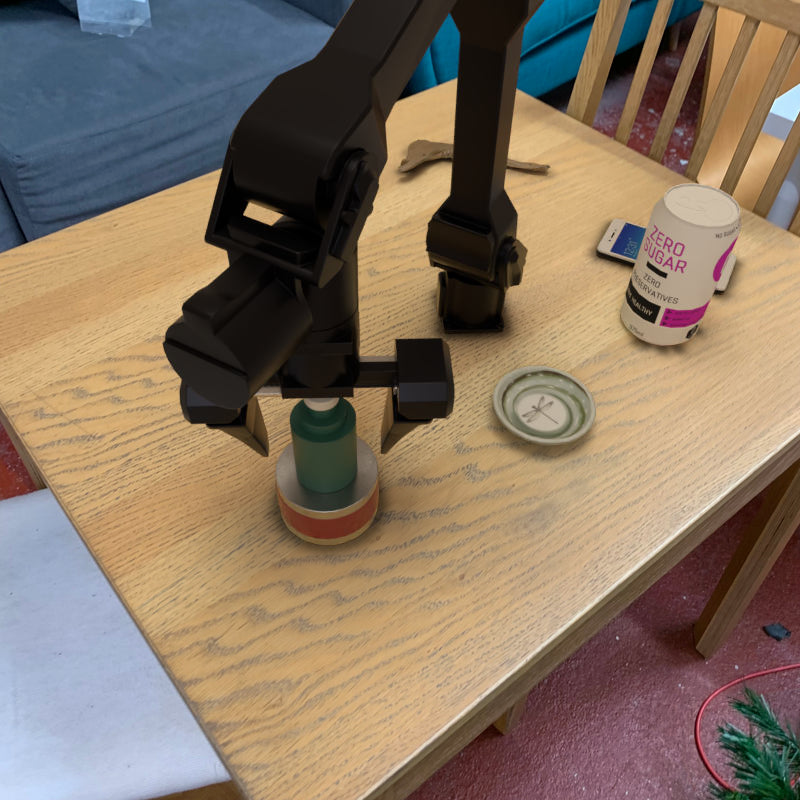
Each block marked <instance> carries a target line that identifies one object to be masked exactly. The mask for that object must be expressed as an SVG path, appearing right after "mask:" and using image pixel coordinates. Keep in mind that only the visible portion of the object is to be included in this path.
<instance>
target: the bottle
mask: <svg viewBox="0 0 800 800" xmlns="http://www.w3.org/2000/svg"><path fill="white" fill-rule="evenodd" d="M289 428H290V435H291V442H292V444H293V452H294V460H295V468H296V474H297V477H298V479H299V481H300V482H301V483H302V484H303V485H304V486H305V487H307V488H308V489H310V490H313V491H315V492H320V493H331V492H335V491H339V490H341V489H343V488H345V487H346V486H347V485H349V484H350V483H351V482H352V480H353V479H354V477H355V475H356V473H357V436H358V435H357V431H358V430H357V428H358V427H357V413H356V410H355V407H354V406H353V405H352V403H351V402H350V401H349V400H347V399H346V398H304V399H299V401H298V402H297V403H296V404H295V405H294V407H293V408H292V409H291V412H290V414H289Z"/></svg>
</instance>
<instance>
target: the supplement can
mask: <svg viewBox="0 0 800 800" xmlns="http://www.w3.org/2000/svg"><path fill="white" fill-rule="evenodd" d="M740 215H741V207H740V205H739V202H738V201H737V200H736V199H735V198H734V197H733V196H732V195H730V194H729V193H727V192H726V191H724V190H722V189H720V188H717V187H714V186H711V185H710V184H709V185H708V184H702V183H696V182H695V183H692V182H691V183H689V182H688V183H680V184H677V185H673V186H671V187H670V188H668V189H667V190H666V191H665V193H664V195H663V196H662V197H660V198H659V199H658V200H657V201H656V202H655V203H654V206H653V208H652V210H651V213H650V217H649V220H648V223H647V226H646V227H647V228H646V232H645V235H644V238H643V241H642V244H641V247H640V250H639V253H638V256H637V259H636V262H635V266H634V267H633V268H632V271H631V275H630V278H629V281H628V284H627V287H626V291H625V294H624V297H623V299H622V303H621V305H620V309H619V313H620V320H621V321H622V323H623V325H624V326H625V328H626V329H627V330H628V331H629V332H630V333H631V334H632V335H634V336H635V337H636V338H637V339H639V340H642V341H644V342H646V343H648V344H651V345H655V346H674V345H680V344H682V343H685V342H688V341H690V340H691V339H692V338H693V337H694V336H695V335H696V334H697V332H698V330H699V328H700V325H701V323H702V321H703V319H704V316H705V314H706V312H707V309H708V307H709V305H710V302H711V300H712V297H713V295H714V294H715V293H714V291H715V289H716V286H717V284H718V282H719V279H720V277H721V275H722V273H723V270H724V268H725V266H726V263H727V261H728V259H729V257H730V254H731V253H732V252H733V251H734V247H735V245H736V243H737V241H738V238H739V236H740V234H741V230H742V219H741V216H740Z"/></svg>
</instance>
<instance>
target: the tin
mask: <svg viewBox="0 0 800 800" xmlns="http://www.w3.org/2000/svg"><path fill="white" fill-rule="evenodd" d="M275 463H276V464H275V466H274V467H275V468H274V477H275V478H274V479H275V488H276V492H277V501H278V506H279V510H280V515H281V517H282V520H283V522H284V524H285V526H286V527H287V529H288V530H289V531H290V532H291V533H292V534H294V535H295V536H296V537H298V538H299V539H301V540H303V541H305V542H307V543H310V544H314V545H319V546H334V545H341V544H344V543H347V542H350V541H353V540H354V539H356V538H357V537H360V536H361V535H362V534H363V533H364V532H366V530H367V529H368V528H369V527H370V526H371V525H372V524H373V522H374V520H375V518H376V515H377V513H378V509H379V508H378V507H379V496H380V494H379V493H380V473H379V463H378V458H377V456H376V453H375V451H374V450H373V449H372V447H371V446H370V445H369V444H368V443H367V442H366V441H365V440H363V439H362V438H361V437H359V436H358V435H357V473H356V475H355V477H354V479H353V480H352V482H351V483H350V484H349V485H347V486H346V487H345V488H343V489H341V490H339V491H335V492H331V493H320V492H315V491H313V490H310V489H308V488H307V487H305V486H304V485H303V484H302V483H301V482H300V481H299V479H298V477H297V474H296V468H295V460H294V452H293V444H292V441H291V442H289V443H288V444H287V445H286V446H285V447H284V448H283V450H282V451H281V452H280V454H279V456H278V458H277V460H276V462H275Z"/></svg>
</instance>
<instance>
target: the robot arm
mask: <svg viewBox="0 0 800 800" xmlns="http://www.w3.org/2000/svg"><path fill="white" fill-rule="evenodd" d="M545 1H546V0H352V2H351V4H350V5H349V7H348V8H347V10H346V11H345V13H343V14H344V15H343V16H342V17H341V19H340V20H339V22H338V24H337V25H336V27H335V28H334V30H333V32H332V33H331V34H330V36H329V38H328V39H327V41H326V42H325V44H324V45H323V46H322V48H321V49H320V50H319V51H318V53H316V55H315V56H314V57H313V58H312V59H310V60H308V61H305V62H303V63H302V64H299V65H297V66H295V67H293V68H291V69H288V70H286V71H284V72H282V73H280V74H278V75H276V76H275V77H274V78H273V79H272V80H271V81H270V82H269V84H268V85H267V86H266V87H265V88H264V89H263V90H262V91H261V92H260V94H259V95H258V96H257V97H256V98H255V100H253V101H252V103H251V104H250V105H249V106H248V107H247V108H246V110H244V112H243V113H242V115H241V116H240V117H239V119H238V121H237V123H236V125H235V127H234V128H233V130H232V131H231V132H232V133H231V135H230V138H229V140H228V144H227V148H226V152H225V156H224V160H223V164H222V167H221V171H220V175H219V178H218V183H217V186H216V191H215V194H214V198H213V202H212V205H211V210H210V215H209V218H208V222H207V225H206V230H205V234H204V237H203V239H204V240H203V241H204V243H205V244H207V245H210V246H213V247H215V248H218V249H221V250H223V251H226V255H227V260H228V266H227V268H225V269H224V270H223V271H222V272H221V273H220V274H219V275H217V277H215V279H213V280H212V281H211V282H209V283H208V284H207V285H205V286H204V287H202V288H200V289H198V290H196V291H195V292H194V293H193V294H192V295H190V297H189V298H187V299H186V300H185V301H184V302H183V303H182V305H181V313H182V314H181V316H179V317H178V318H177V319H176V320H175V321H174V322H173V323H172V324H170V325H169V326H168V327H167V329H166V331H165V333H164V341H163V342H162V348H163V352H164V354H165V357H166V359H167V361H168V362H169V365H170V366H171V368H172V369H173V371H174V372H175V374H177V376H178V377H179V378H180V379H181V381H180V386H179V393H178V394H179V405H180V409H181V412H182V415H183V419H184V420H186V421H187V422H188V423H189V424H190V425H205V427H206V428H207V429H209V430H217V431H221V432H223V433H225V434H227V435H229V436H230V437H232V438H234V439H236V440H238V441H239V442H242V443H243V444H244V445H246V446H248V447H249V448H250V449H251V450H253V451H254V452H255V453H257V454H258V455H260V456H261V457H263V458H269V456H270V440H269V433H268V430H267V426H266V423H265V419H264V416H263V413H262V409H261V406H260V402H259V399H258V398H281V399H282V400H294V399H296V400H298V399H299V400H302V399H304V398H344V399H346V398H347V399H349V398H355V391H354V389H380V388H381V389H383V388H384V389H387V391H386V397H385V403H384V407H383V408H384V409H383V414H382V419H381V426H380V431H379V432H380V436H379V437H380V440H379V441H380V444H379V445H380V454H381V455H387V454H388V453H389V452H390V451H391V450H392V449H393V448H394V446H395V445H397V444H398V442H400V441H401V440H402V439H403V438H404V437H405V436H406V435H408V434H410V433H411V432H413V430H415V429H417V428H418V427H420V426H427V425H430V424H432V423H433V421H434V420H443V419H445V420H446V419H447V418H448V417H450V416H451V415H452V414H453V412H454V407H455V398H456V397H455V395H456V394H455V393H456V390H455V379H454V372H453V364H452V355H451V348H450V345H449V344H448V343H447V342H446V341H445V340H444V338H442V337H426V338H425V337H424V338H421V337H420V338H394V345H393V346H394V347H393V353H394V354H393V355H361V353H360V347H361V332H360V331H361V328H360V323H361V322H360V307H359V305H360V304H359V303H360V302H359V300H360V299H359V297H360V296H359V255H358V254H359V253H358V252H359V250H358V249H359V246H358V245H359V240H360V238H361V235H362V233H363V230H364V227H365V225H366V223H367V221H368V220H367V219H368V218H369V217H370V216H371V215H372V214H373V212H374V202H375V200H376V198H377V194H378V191H379V189H380V177H381V175H382V173H383V171H384V169H385V167H386V165H387V163H388V158H389V153H388V139H387V127H386V125H387V122H388V119H389V117H390V115H391V113H392V111H393V108H394V106H395V104H396V103H397V101H398V100H399V98H400V96H401V94H402V93H403V91H404V90H405V88H406V86H407V85H408V83H409V81H410V80H411V78H412V76H413V74H414V73H415V72H416V70H417V68H418V66H419V64H420V63H421V61H422V59H423V58H424V56H425V55H426V53H427V51H428V50H429V48H430V47H431V45H432V43H433V41H434V39H435V38H436V36H437V34H438V33H439V31H440V29H441V28H442V27H443V25H444V23H445V21H446V20H447V18H448V17H449V15H450V17H451V19H452V21H453V24H454V25H455V28H456V30H457V31H458V33H459V45H458V46H459V47H458V63H457V78H456V93H455V110H454V111H455V112H454V128H453V143H452V144H453V158H452V159H451V177H450V188H449V189H450V191H449V194H448V197H447V198H445V200H444V201H443V202H442V204H441V205H440V206H439V207H438V208H437V210H435V212H434V213H433V214H432V216H431V218H430V220H429V221H428V222H427V231H426V235H425V246H426V248H425V252H427V256H428V262H429V266H430V267H432V268H437V269H441V271H439V272H438V273H437V283H436V294H435V295H436V297H435V305H436V312H437V316H438V317H439V318H441V323H442V324H441V325H442V331H443V332H444V333H446V334H469V333H470V334H474V333H475V334H477V333H479V334H480V333H484V334H485V333H503V332H504V331H505V327H506V325H505V321H504V320H505V319H504V315H503V312H504V307H505V301H506V295H507V291H508V290H509V289H510V288H511V287H516V286H520V284H521V283H522V281H523V274H524V267H525V266H526V263H527V259H526V258H527V255H528V252H529V249H528V248H527V247H526V246H525V244H524V243H522V242H521V241H520V240H519V238H517V236H518V234H517V233H518V220H519V219H518V218H519V213H518V210H516V208H515V206H514V204H513V202H512V201H511V198H510V196H509V195H508V192H507V191H506V189H505V182H506V176H507V175H506V174H507V168H508V166H507V159H509V152H510V151H509V150H510V142H511V135H512V127H513V119H514V111H515V102H516V96H517V88H518V79H519V72H520V64H521V56H522V47H523V40H524V32H525V27H526V26H527V25H528V24H529V22H530V21H531V19H532V18H533V17H534V16H535V14H536V13H537V12H538V10H539V9H540V8H541V6H542V5H543V4H544V2H545ZM250 204H253V205H255V206H258V207H260V208H263V209H266V210H269V211H271V212H274V213H277V214H278V215H282V216H281V217H280V218H278V219H277V220H275V222H273V224H268V223H265V222H264V221H260V220H258V219H255V218H252V217H250V216H247V215H245V212H246V210H247V208H248V206H249V205H250ZM442 270H443V271H442Z"/></svg>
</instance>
